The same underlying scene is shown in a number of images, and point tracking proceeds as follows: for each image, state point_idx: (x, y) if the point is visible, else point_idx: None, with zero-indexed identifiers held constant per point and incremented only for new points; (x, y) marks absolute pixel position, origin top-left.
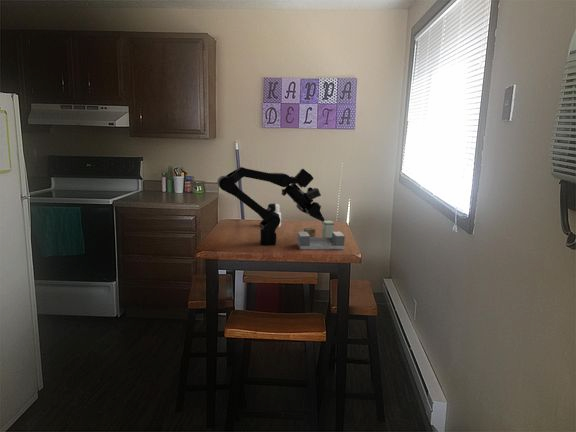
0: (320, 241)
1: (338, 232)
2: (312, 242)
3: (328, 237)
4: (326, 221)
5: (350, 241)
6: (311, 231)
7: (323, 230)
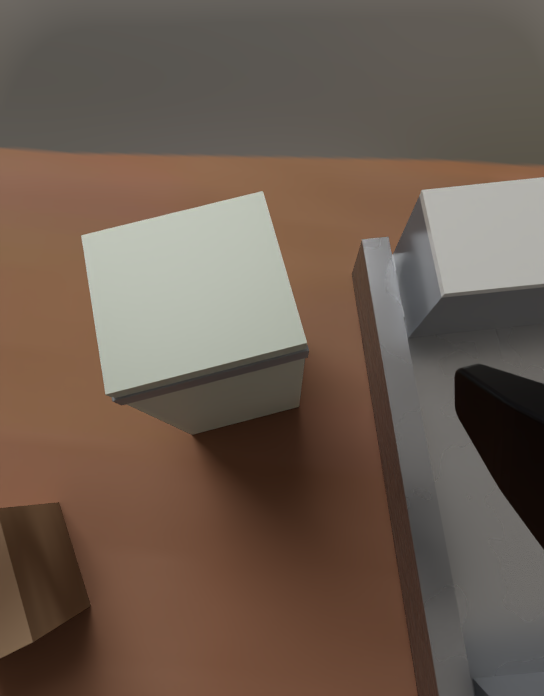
0: (451, 475)
1: (483, 216)
2: (528, 591)
3: (405, 364)
4: (172, 318)
5: (248, 162)
6: (31, 569)
7: (216, 404)
